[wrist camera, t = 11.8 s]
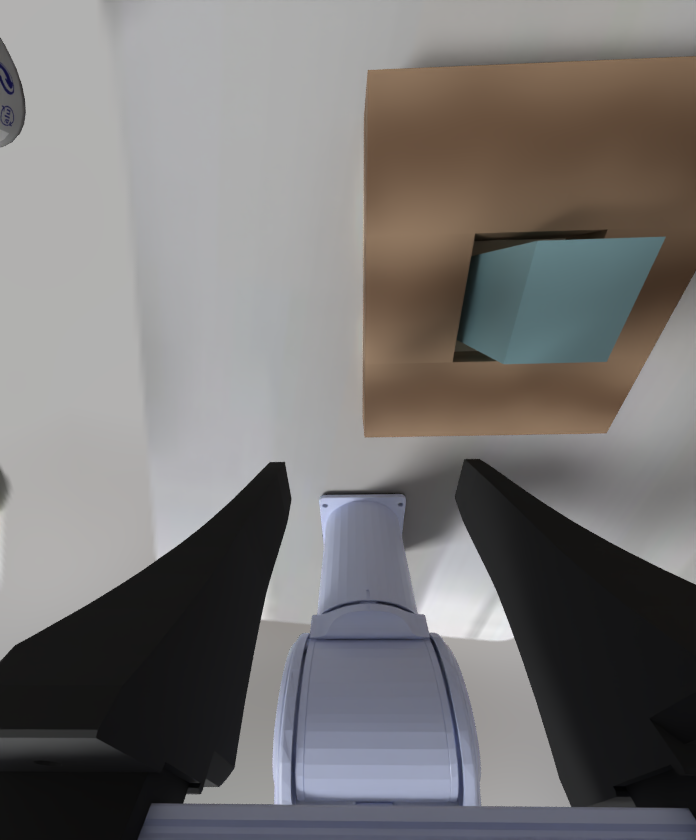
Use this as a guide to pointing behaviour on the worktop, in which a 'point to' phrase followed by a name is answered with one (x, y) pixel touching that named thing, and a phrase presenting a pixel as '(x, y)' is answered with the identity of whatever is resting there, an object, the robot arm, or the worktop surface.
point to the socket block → (515, 228)
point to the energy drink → (10, 99)
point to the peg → (554, 298)
